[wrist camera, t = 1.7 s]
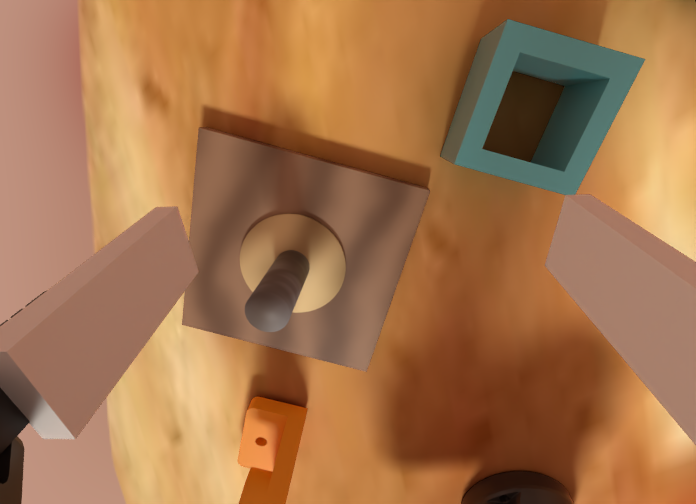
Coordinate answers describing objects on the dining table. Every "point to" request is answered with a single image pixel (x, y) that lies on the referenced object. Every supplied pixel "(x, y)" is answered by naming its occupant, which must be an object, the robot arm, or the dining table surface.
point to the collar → (568, 116)
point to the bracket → (270, 449)
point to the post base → (295, 248)
